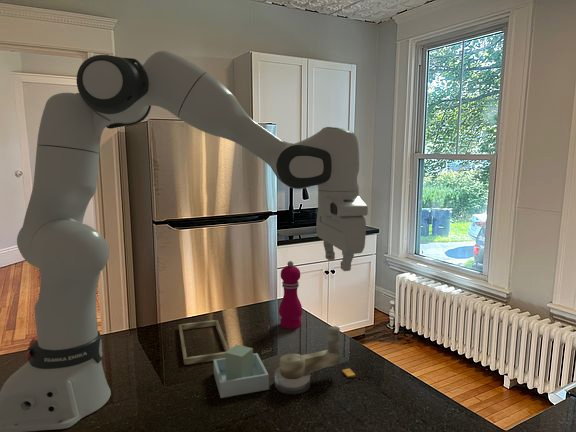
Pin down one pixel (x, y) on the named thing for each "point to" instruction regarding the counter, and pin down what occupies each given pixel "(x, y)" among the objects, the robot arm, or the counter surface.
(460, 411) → the counter surface
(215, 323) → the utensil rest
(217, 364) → the tray
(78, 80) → the robot arm
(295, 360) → the crank
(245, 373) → the block
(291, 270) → the pepper mill
